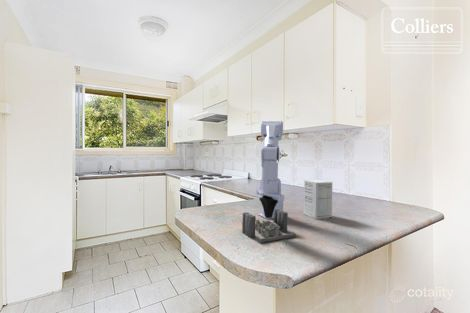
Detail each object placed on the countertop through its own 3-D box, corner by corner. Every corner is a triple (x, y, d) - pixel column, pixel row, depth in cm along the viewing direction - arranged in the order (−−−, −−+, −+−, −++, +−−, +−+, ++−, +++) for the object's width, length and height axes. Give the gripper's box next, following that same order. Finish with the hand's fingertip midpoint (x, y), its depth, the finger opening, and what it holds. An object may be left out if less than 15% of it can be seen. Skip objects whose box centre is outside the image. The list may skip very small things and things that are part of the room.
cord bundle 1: (246, 230, 82) (247, 212, 82) (256, 237, 76) (256, 217, 76) (241, 231, 81) (241, 212, 81) (250, 238, 75) (250, 217, 75)
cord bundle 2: (277, 226, 88) (277, 209, 88) (288, 232, 82) (289, 213, 82) (272, 227, 87) (272, 209, 87) (283, 232, 81) (283, 213, 81)
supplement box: (319, 212, 111) (320, 179, 111) (332, 218, 103) (333, 181, 103) (302, 214, 108) (303, 179, 108) (315, 219, 100) (316, 182, 100)
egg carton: (253, 228, 86) (253, 217, 86) (271, 227, 88) (271, 217, 88) (260, 238, 76) (261, 226, 76) (281, 237, 77) (281, 225, 77)
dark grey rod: (293, 236, 78) (293, 232, 78) (295, 237, 77) (295, 233, 77) (258, 242, 72) (258, 238, 72) (260, 243, 71) (260, 240, 71)
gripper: (249, 177, 84) (248, 213, 85) (272, 182, 71) (271, 224, 71) (265, 177, 88) (264, 211, 88) (289, 182, 74) (288, 222, 75)
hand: (268, 217), depth 80 cm, fingers closed
